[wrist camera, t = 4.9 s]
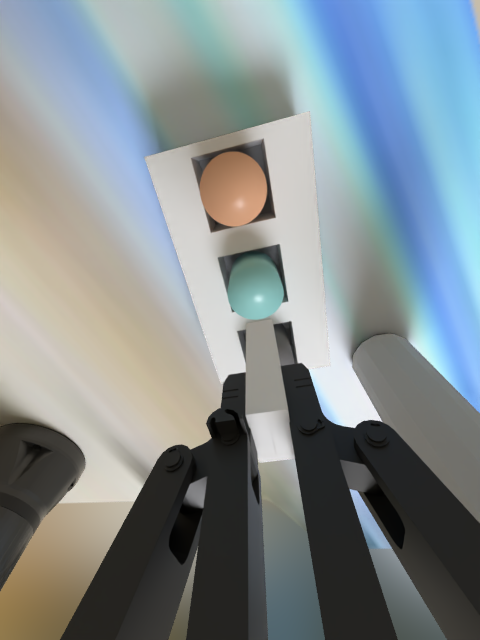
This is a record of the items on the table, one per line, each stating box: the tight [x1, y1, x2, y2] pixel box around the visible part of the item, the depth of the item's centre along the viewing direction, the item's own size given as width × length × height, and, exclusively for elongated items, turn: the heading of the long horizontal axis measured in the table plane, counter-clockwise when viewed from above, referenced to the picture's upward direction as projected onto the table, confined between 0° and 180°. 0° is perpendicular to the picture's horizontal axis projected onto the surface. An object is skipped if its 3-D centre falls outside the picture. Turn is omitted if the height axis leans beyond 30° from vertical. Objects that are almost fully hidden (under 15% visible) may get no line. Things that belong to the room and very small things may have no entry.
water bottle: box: [352, 333, 480, 523], centre depth 22 cm, size 9×8×25 cm
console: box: [144, 111, 330, 383], centre depth 26 cm, size 12×22×5 cm, turn 13°
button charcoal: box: [273, 323, 294, 366], centre depth 27 cm, size 4×4×5 cm
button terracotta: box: [200, 152, 267, 226], centre depth 20 cm, size 4×4×5 cm
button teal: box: [227, 251, 284, 320], centre depth 23 cm, size 4×4×5 cm
